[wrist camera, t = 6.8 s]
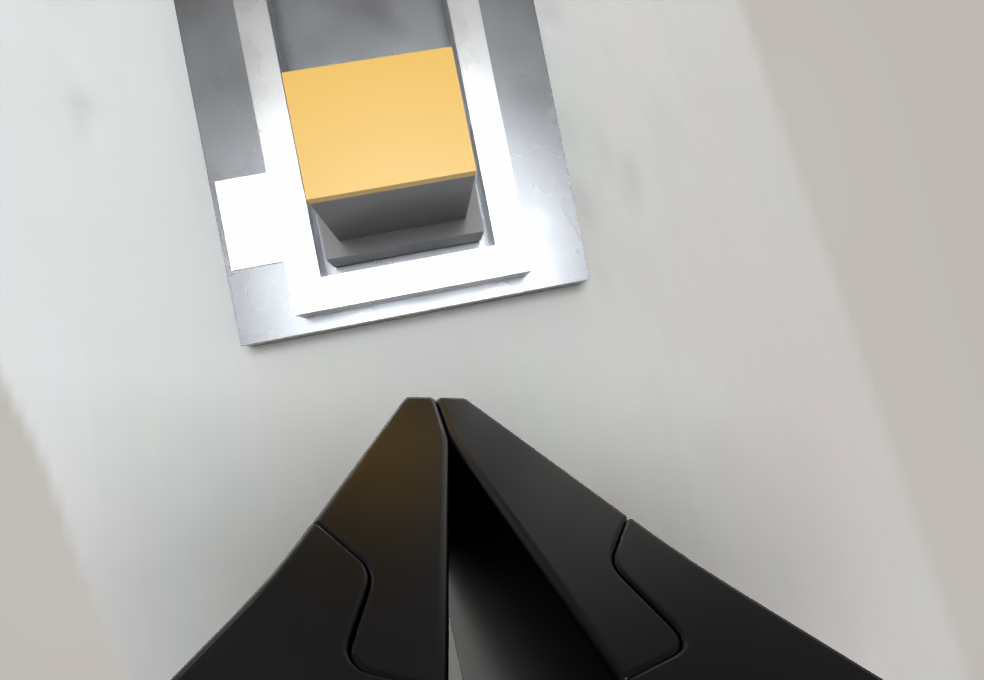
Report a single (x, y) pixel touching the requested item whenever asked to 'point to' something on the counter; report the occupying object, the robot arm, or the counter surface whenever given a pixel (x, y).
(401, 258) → the grey shallow rectangular piece
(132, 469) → the counter surface
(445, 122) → the breaker handle
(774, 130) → the counter surface
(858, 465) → the counter surface
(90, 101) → the counter surface
